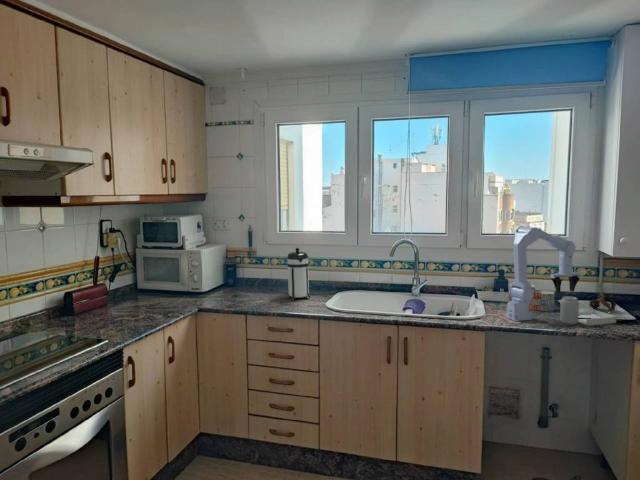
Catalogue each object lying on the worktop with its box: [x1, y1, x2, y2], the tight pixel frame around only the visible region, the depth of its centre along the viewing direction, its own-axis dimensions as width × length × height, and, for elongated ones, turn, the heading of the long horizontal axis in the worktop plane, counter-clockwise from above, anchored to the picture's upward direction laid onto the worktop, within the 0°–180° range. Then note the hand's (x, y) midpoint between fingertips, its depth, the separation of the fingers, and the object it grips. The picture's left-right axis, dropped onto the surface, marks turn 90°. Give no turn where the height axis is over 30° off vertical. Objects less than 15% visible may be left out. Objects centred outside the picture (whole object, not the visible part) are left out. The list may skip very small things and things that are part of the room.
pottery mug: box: [589, 295, 617, 312], centre depth 234 cm, size 12×10×8 cm
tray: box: [578, 309, 617, 327], centre depth 219 cm, size 15×13×3 cm
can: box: [559, 295, 580, 326], centre depth 216 cm, size 8×8×12 cm
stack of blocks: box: [508, 282, 555, 313], centre depth 242 cm, size 21×6×12 cm, turn 64°
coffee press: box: [286, 247, 311, 299], centre depth 278 cm, size 17×16×30 cm
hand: (564, 291), depth 234 cm, fingers open, 7 cm apart
